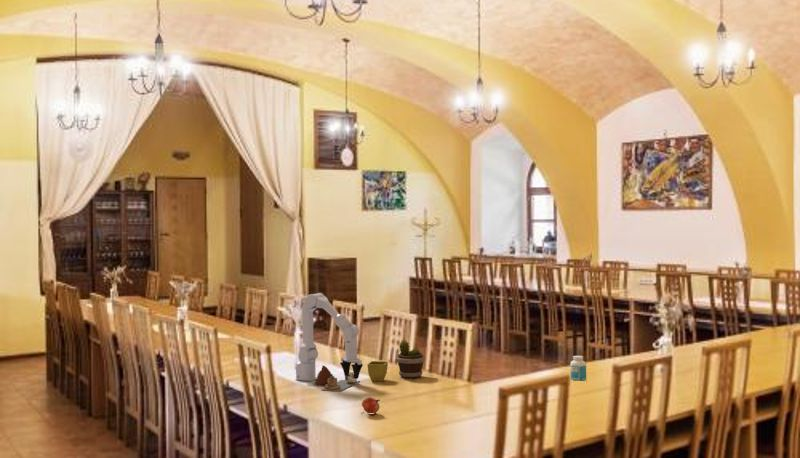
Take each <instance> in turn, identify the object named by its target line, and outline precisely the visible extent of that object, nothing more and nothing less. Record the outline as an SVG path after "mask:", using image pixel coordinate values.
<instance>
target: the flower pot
mask: <svg viewBox="0 0 800 458" xmlns="http://www.w3.org/2000/svg"><path fill="white" fill-rule="evenodd" d="M388 362H389V361H382V360H380V361H377V360H371V361H369V362H368V363H367V364H366V365H367V371H368V372H367V374H368V376H369V379H370V381H371V382H383V381H384V380H385V379H386V378H385V377H386V375H387V374H388V373H387V371H388V365H389V363H388Z"/></svg>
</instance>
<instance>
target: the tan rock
mask: <svg viewBox="0 0 800 458" xmlns="http://www.w3.org/2000/svg"><path fill="white" fill-rule="evenodd" d="M337 382H338V377H335V376H334V375H333V376H330V378H328V384H327V385H324V388H325V389H339V388H340V385H337Z"/></svg>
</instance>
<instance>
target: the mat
mask: <svg viewBox="0 0 800 458" xmlns="http://www.w3.org/2000/svg"><path fill="white" fill-rule="evenodd" d="M360 382H361V380H356V383H353V384H349V383H347V380H345V379H341V380H337V385H340V388H339V389H325V387H324V388H322V389H321V391H324V392H325V391H326V392H339V393H341V392H342V391H345V390H347V389H348V388H351V387H353V386H354V385H356V384H359V383H360Z"/></svg>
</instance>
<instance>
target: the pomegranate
mask: <svg viewBox="0 0 800 458" xmlns="http://www.w3.org/2000/svg"><path fill="white" fill-rule="evenodd" d="M379 401H380V402H381V400H380V399H376V398H374V397H366V398H364V400H362V402H361V406H362V407H363V410H364V411H365V412H366V413H367V414H368V413H374V414H368V416H374V415H376V414H377V413H378V412H379V410H380V403H379ZM364 411H363V412H361V413H360V414H361V415H362V414H364V413H365V412H364ZM377 411H378V412H377ZM376 412H377V413H376Z"/></svg>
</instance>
